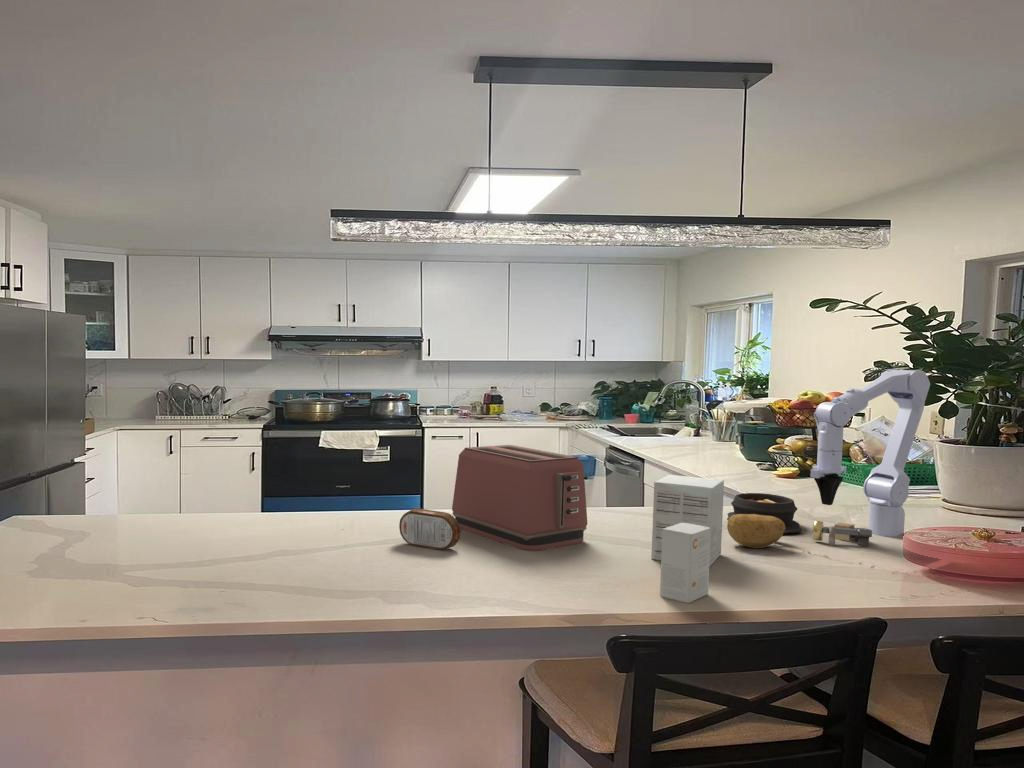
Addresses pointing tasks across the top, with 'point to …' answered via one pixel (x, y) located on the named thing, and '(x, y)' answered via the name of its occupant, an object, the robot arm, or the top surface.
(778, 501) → the casserole
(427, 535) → the tin
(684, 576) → the small box
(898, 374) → the robot arm
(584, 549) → the top surface
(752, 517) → the potato
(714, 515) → the supplement box
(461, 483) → the toaster
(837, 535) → the nut block
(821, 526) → the lever
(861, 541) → the press base
